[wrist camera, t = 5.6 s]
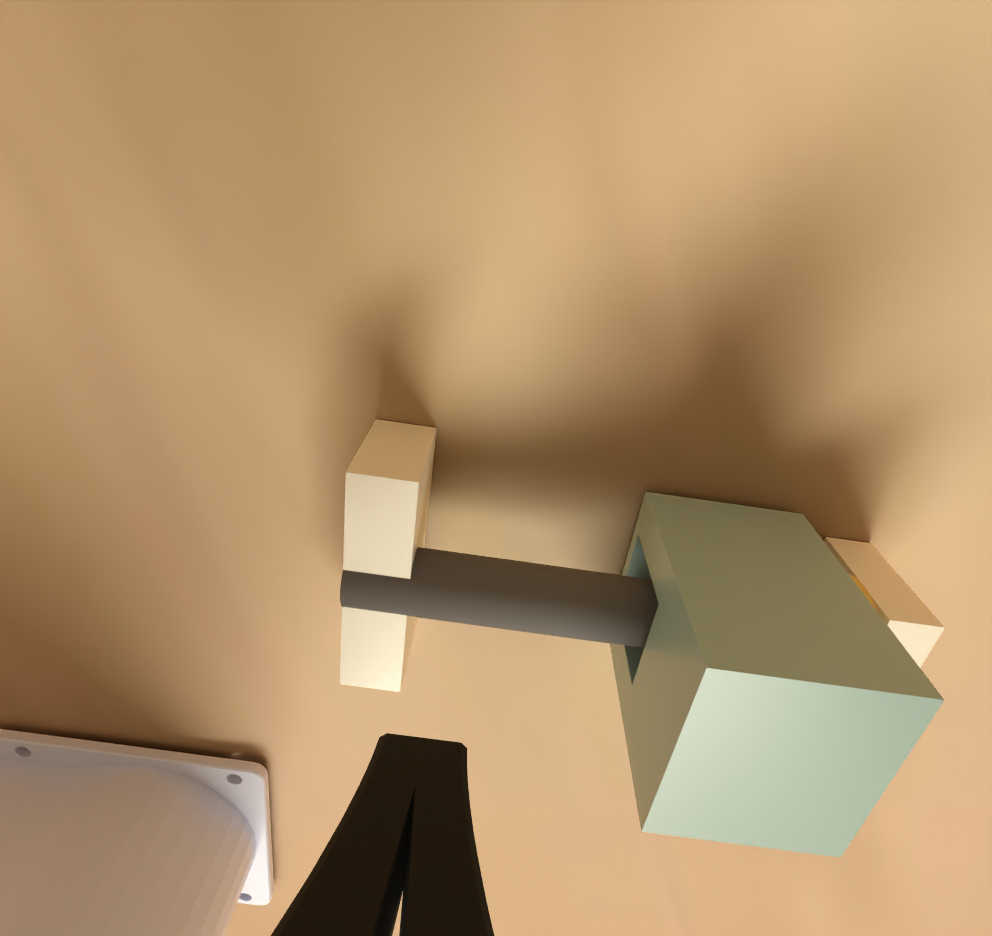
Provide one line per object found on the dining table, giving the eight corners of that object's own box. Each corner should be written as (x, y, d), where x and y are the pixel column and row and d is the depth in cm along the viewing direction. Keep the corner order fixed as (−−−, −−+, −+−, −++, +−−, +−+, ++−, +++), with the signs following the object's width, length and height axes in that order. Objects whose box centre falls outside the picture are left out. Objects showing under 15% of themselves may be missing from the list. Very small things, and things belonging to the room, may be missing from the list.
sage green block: (607, 626, 17) (641, 831, 12) (645, 491, 15) (706, 668, 10) (746, 645, 17) (840, 857, 12) (803, 513, 15) (944, 700, 10)
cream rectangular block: (366, 609, 18) (339, 684, 15) (375, 419, 15) (345, 471, 13) (417, 616, 18) (400, 692, 15) (436, 427, 15) (419, 482, 13)
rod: (363, 584, 17) (329, 673, 14) (367, 480, 15) (331, 556, 12) (835, 648, 17) (897, 749, 14) (884, 553, 15) (964, 644, 13)
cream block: (785, 625, 17) (835, 717, 15) (825, 537, 16) (889, 619, 13) (827, 630, 17) (885, 724, 15) (870, 543, 16) (945, 627, 13)
